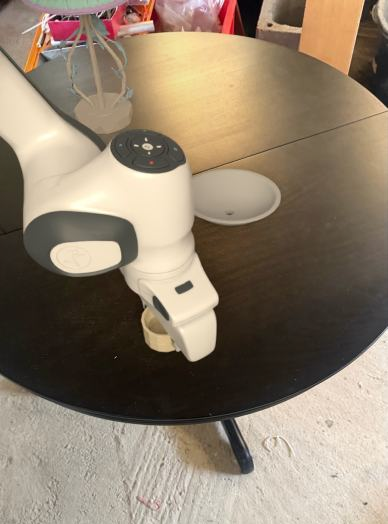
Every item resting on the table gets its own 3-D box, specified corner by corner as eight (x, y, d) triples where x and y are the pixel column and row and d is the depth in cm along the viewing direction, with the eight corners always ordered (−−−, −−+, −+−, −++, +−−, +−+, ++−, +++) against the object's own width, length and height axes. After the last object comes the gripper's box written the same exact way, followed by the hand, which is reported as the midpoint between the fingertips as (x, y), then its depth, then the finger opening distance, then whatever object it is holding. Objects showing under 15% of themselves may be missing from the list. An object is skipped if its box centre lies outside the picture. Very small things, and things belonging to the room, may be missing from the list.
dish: (179, 243, 84) (177, 221, 80) (184, 189, 92) (183, 167, 88) (279, 245, 83) (283, 224, 79) (275, 191, 91) (279, 169, 87)
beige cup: (141, 352, 70) (138, 335, 66) (147, 317, 73) (144, 299, 69) (184, 355, 69) (184, 338, 66) (188, 319, 73) (188, 301, 69)
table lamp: (162, 94, 110) (143, -151, 76) (140, 151, 98) (106, -107, 65) (73, 87, 112) (17, -153, 79) (41, 142, 101) (-40, -112, 67)
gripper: (96, 222, 62) (112, 290, 73) (181, 330, 52) (183, 389, 64) (138, 204, 63) (147, 273, 75) (227, 305, 54) (222, 366, 66)
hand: (164, 327), depth 69 cm, fingers closed on beige cup, 6 cm apart
